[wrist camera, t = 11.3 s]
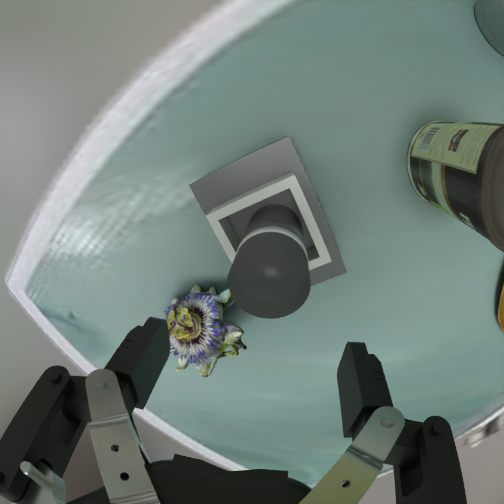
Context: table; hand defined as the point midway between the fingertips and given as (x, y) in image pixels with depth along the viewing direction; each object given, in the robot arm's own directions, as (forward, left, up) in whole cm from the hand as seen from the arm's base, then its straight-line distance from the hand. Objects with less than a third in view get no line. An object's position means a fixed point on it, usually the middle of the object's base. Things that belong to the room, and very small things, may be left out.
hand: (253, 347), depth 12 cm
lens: (0, 0, -16) cm, 16 cm away
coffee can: (-21, +2, -21) cm, 30 cm away
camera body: (0, 0, -21) cm, 21 cm away
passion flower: (+13, +9, -21) cm, 26 cm away
